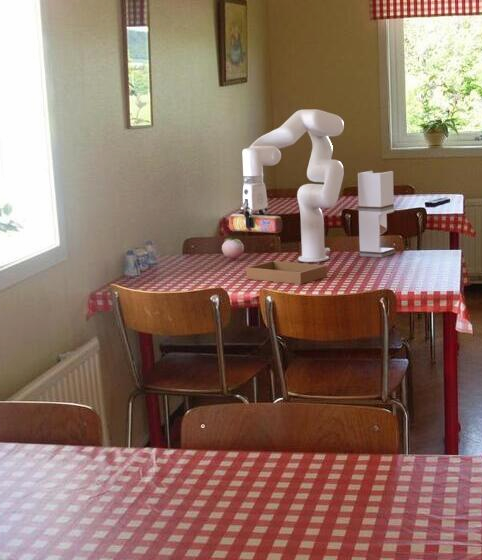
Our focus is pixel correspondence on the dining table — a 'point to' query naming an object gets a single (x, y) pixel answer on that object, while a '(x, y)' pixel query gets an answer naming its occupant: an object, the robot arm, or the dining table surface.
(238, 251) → the decorative fruit
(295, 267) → the brown cardboard tray
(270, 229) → the snack package
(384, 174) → the coffee grinder
